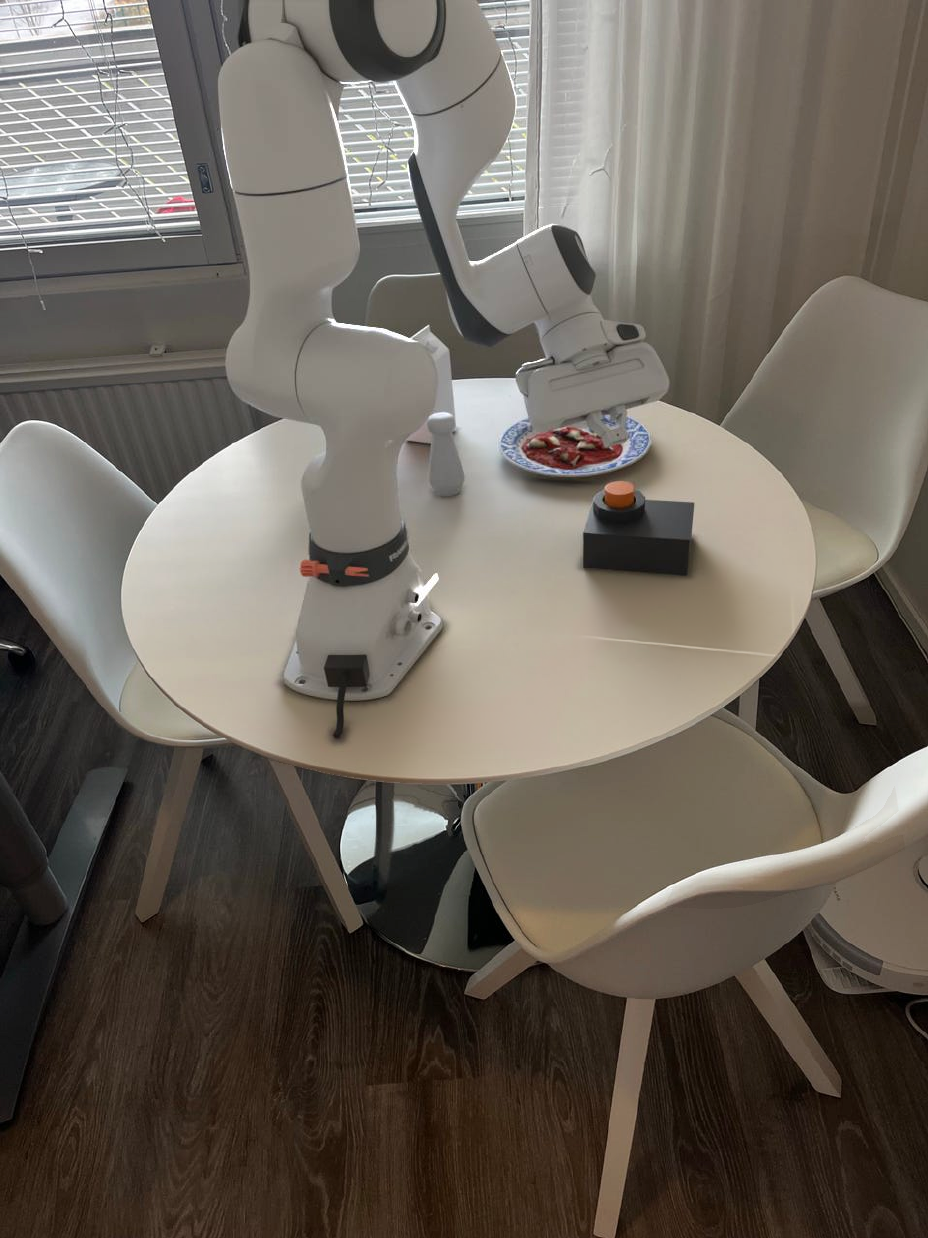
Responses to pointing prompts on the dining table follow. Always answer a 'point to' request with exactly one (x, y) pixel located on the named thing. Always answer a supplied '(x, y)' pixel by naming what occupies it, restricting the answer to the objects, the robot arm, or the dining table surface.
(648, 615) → the dining table surface
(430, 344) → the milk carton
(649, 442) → the ceramic plate
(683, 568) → the button base
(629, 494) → the orange push button
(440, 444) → the salt shaker
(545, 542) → the dining table surface
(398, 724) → the dining table surface
